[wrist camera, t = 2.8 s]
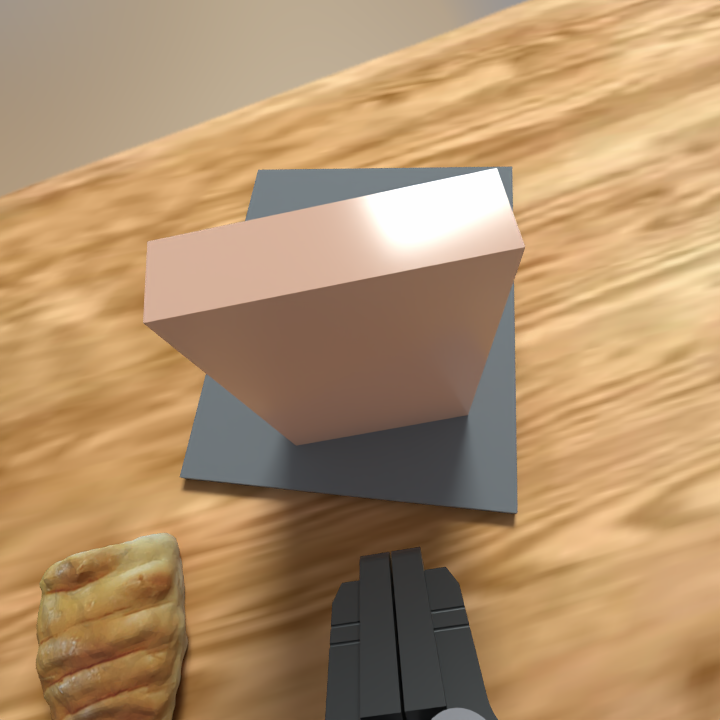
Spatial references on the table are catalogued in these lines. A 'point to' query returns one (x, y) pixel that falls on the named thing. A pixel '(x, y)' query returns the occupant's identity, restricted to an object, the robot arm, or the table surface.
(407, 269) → the tile
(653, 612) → the table surface
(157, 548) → the pastry
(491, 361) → the mat
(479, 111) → the table surface
